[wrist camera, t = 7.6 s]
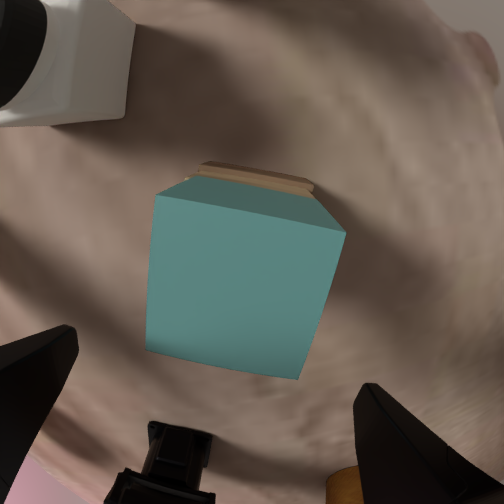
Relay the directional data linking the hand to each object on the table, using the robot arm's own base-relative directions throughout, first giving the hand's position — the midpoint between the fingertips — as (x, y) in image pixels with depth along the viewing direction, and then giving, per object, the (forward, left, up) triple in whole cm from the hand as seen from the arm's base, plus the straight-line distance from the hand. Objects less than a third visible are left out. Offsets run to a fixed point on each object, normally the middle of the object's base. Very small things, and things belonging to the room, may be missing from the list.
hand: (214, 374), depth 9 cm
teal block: (+2, 0, -6) cm, 6 cm away
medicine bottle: (+10, +13, -13) cm, 21 cm away
